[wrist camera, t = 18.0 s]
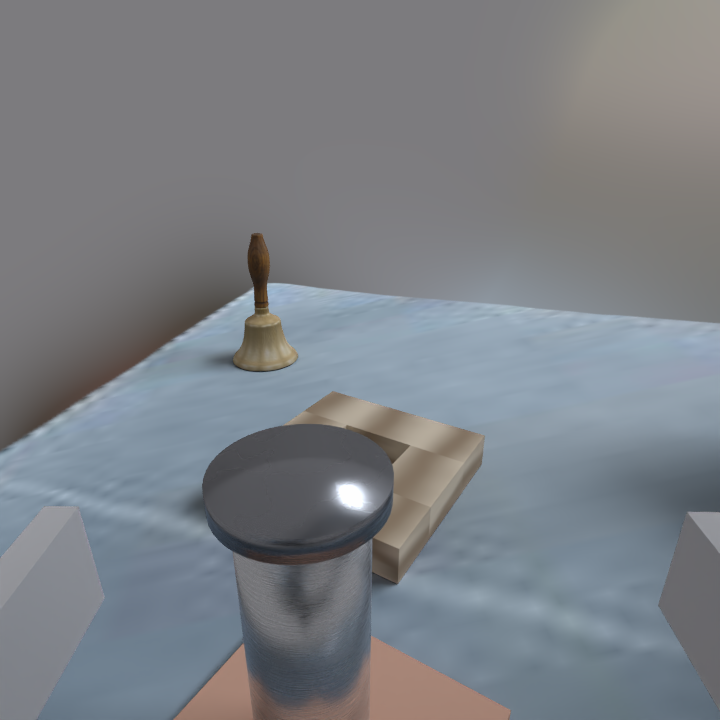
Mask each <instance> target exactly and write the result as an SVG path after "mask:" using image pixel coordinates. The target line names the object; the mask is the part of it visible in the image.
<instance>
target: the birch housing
mask: <svg viewBox="0 0 720 720" xmlns="http://www.w3.org/2000/svg"><path fill="white" fill-rule="evenodd" d="M294 424H322V425H331V426H336V427H341V428H345V429H348V430H351V431H354V432H357V433H359V434H361V435H363V436H365V437H367V438H369V439H371V440H372V441H374V442H375V443H376V444H377V445H379V446H380V447H381V448H382V449H383V450H384V451H385V452H386V454H387V455H388V457H389V459H390V461H391V463H392V466H393V471H394V488H393V506H392V510H391V514H390V516H389V518H388V520H387V522H386V523H385V525H384V526H383V528H382V529H381V530H380V531H379V532H378V533H377V534H376V535H375V536H374V537H373V538H372V572H373V573H375V574H377V575H379V576H381V577H384V578H386V579H388V580H390V581H392V582H394V583H396V584H398V583H399V582H400V580H401V579H402V577H403V576H404V574H405V573H406V572H407V570H408V569H409V567H410V566H411V564H412V563H413V562H414V560H415V559H416V557H417V556H418V554H419V553H420V552H421V550H422V549H423V547H424V546H425V544H426V543H427V542H428V540H429V539H430V537H431V536H432V534H433V533H434V532H435V530H436V529H437V527H438V526H439V524H440V523H441V522H442V520H443V519H444V517H445V516H446V514H447V513H448V512H449V510H450V509H451V507H452V506H453V504H454V503H455V502H456V500H457V499H458V497H459V496H460V494H461V493H462V492H463V490H464V489H465V487H466V486H467V484H468V483H469V482H470V480H471V479H472V477H473V476H474V474H475V473H476V472H477V470H478V469H479V467H480V466H481V464H482V456H483V447H484V438H485V436H484V435H481V434H477V433H474V432H470V431H467V430H464V429H460V428H457V427H453V426H450V425H446V424H443V423H440V422H436V421H433V420H429V419H426V418H423V417H419V416H416V415H412V414H409V413H405V412H402V411H399V410H395V409H392V408H388V407H385V406H381V405H378V404H375V403H371V402H368V401H364V400H361V399H357V398H354V397H351V396H347V395H344V394H340V393H337V392H331V393H330V394H328V395H327V396H325V397H324V398H322V399H321V400H319V401H318V402H317V403H315V404H314V405H312V406H311V407H309V408H308V409H306V410H305V411H304V412H302V413H301V414H299V415H298V416H296V417H295V418H293V419H292V420H290V421H289V422H288V423H286V424H285V425H294ZM285 425H283V426H285Z"/></svg>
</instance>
